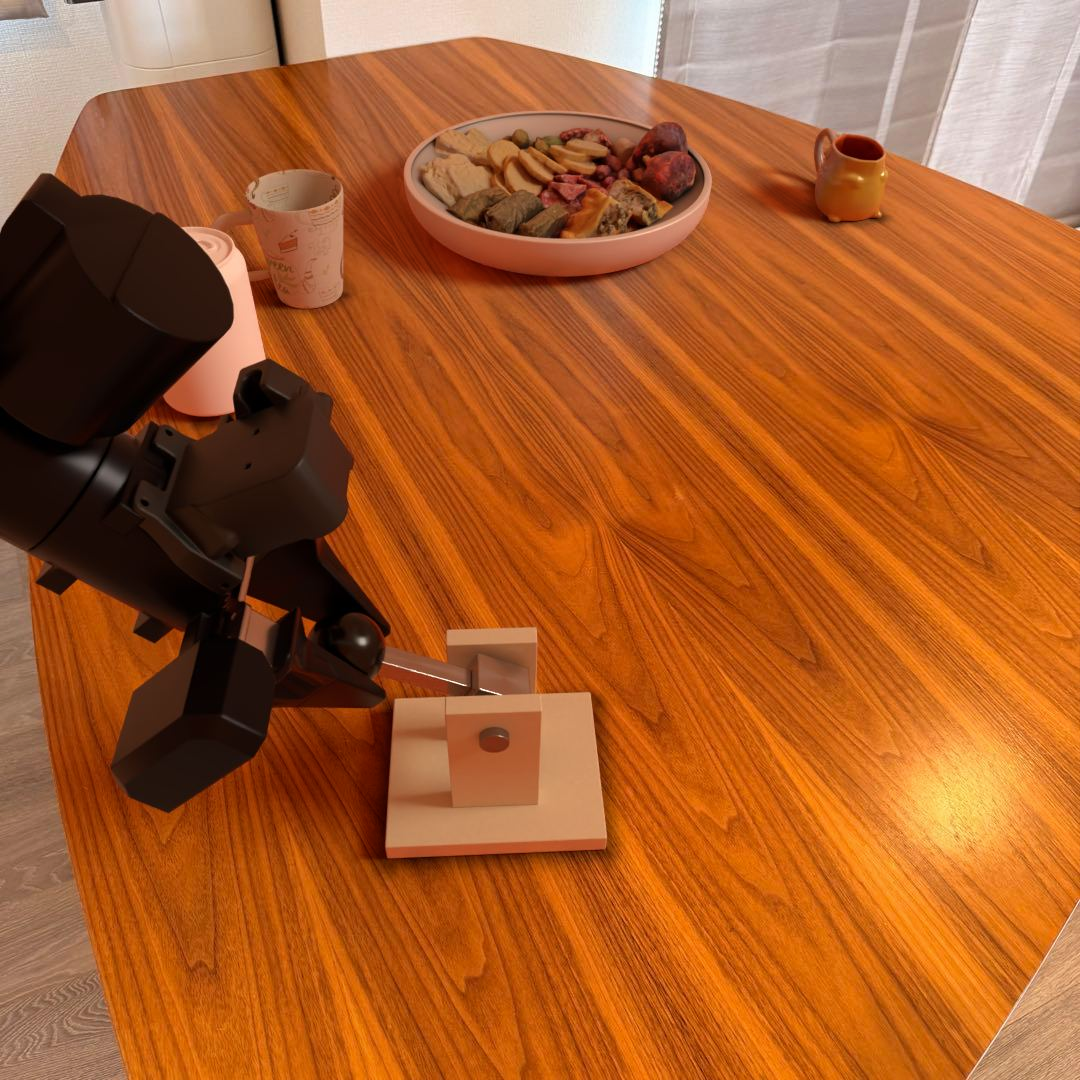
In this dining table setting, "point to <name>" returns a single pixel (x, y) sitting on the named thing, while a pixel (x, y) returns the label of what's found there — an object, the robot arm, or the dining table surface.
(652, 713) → the dining table surface
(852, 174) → the mug
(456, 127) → the bowl
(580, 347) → the dining table surface
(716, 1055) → the dining table surface
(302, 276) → the mug
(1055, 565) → the dining table surface
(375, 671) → the lever
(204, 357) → the beverage can
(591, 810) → the bracket
